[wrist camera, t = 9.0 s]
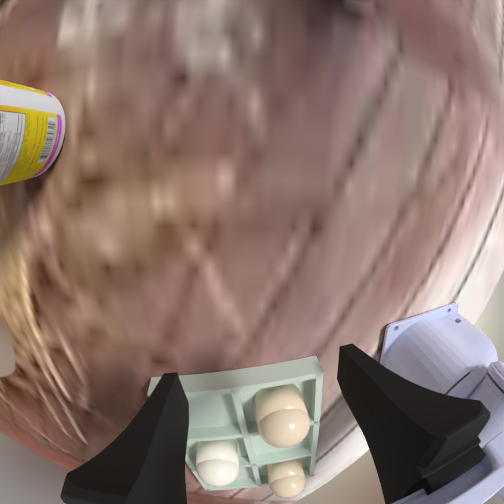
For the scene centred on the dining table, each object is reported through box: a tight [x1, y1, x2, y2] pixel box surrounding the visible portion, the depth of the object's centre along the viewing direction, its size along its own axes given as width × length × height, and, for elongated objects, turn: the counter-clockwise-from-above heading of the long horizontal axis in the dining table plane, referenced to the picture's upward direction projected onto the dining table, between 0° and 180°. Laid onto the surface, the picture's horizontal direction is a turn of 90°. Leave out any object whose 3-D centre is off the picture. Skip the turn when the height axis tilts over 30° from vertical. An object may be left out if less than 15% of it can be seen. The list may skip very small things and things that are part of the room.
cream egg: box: [196, 439, 239, 487], centre depth 23 cm, size 4×4×5 cm
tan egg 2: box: [266, 458, 306, 498], centre depth 26 cm, size 4×4×5 cm
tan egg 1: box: [253, 383, 310, 448], centre depth 21 cm, size 4×4×5 cm
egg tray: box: [147, 355, 323, 491], centre depth 25 cm, size 15×22×2 cm
